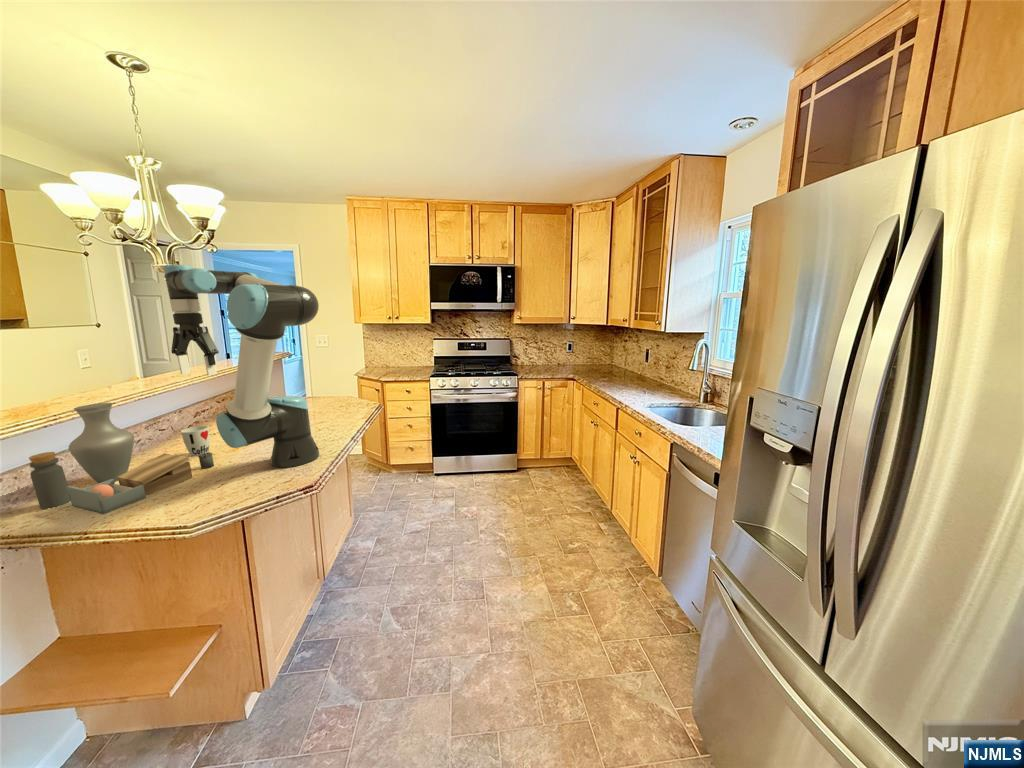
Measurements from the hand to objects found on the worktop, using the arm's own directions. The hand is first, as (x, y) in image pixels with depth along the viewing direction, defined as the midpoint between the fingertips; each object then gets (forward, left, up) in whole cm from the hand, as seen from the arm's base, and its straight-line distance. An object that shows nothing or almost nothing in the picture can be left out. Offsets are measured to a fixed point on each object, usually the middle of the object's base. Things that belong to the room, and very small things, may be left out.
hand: (198, 374), depth 133 cm
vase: (+16, +22, -32) cm, 42 cm away
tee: (-5, +6, -32) cm, 33 cm away
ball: (-4, +31, -30) cm, 44 cm away
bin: (-4, +31, -32) cm, 45 cm away
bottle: (+10, +37, -32) cm, 50 cm away
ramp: (-4, +20, -32) cm, 38 cm away
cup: (+12, -2, -32) cm, 34 cm away
